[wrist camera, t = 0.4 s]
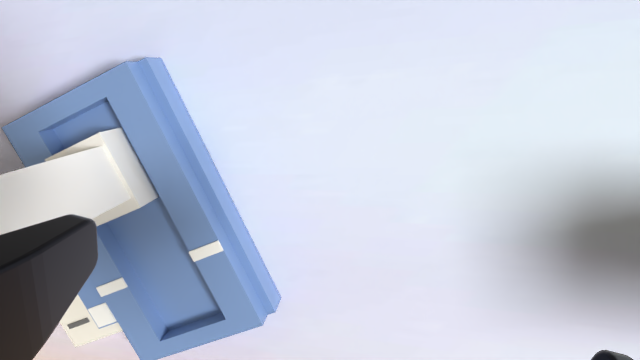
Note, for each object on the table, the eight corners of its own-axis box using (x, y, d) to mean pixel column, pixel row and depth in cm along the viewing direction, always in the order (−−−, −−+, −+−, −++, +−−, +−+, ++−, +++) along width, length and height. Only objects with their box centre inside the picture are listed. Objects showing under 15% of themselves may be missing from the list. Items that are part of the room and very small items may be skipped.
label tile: (140, 322, 26) (135, 327, 26) (79, 343, 28) (73, 349, 27) (84, 226, 25) (77, 230, 25) (23, 253, 26) (15, 256, 26)
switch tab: (159, 196, 22) (22, 277, 13) (108, 218, 23) (-52, 307, 14) (121, 127, 21) (-49, 166, 13) (70, 152, 22) (-122, 205, 13)
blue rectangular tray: (281, 297, 25) (270, 323, 22) (157, 339, 27) (135, 367, 24) (161, 58, 22) (133, 56, 19) (33, 124, 24) (-8, 131, 21)
